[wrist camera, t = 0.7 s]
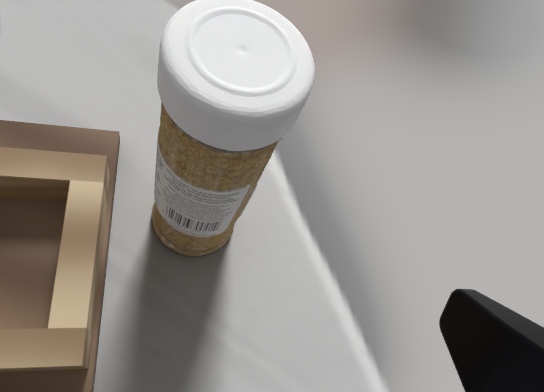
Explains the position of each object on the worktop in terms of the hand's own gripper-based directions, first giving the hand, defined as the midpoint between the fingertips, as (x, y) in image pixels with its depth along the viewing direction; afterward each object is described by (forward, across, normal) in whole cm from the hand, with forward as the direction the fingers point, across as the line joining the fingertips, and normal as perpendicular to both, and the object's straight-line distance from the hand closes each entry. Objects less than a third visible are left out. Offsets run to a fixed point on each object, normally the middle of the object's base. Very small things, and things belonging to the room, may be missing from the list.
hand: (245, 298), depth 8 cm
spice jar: (+15, 0, +7) cm, 16 cm away
